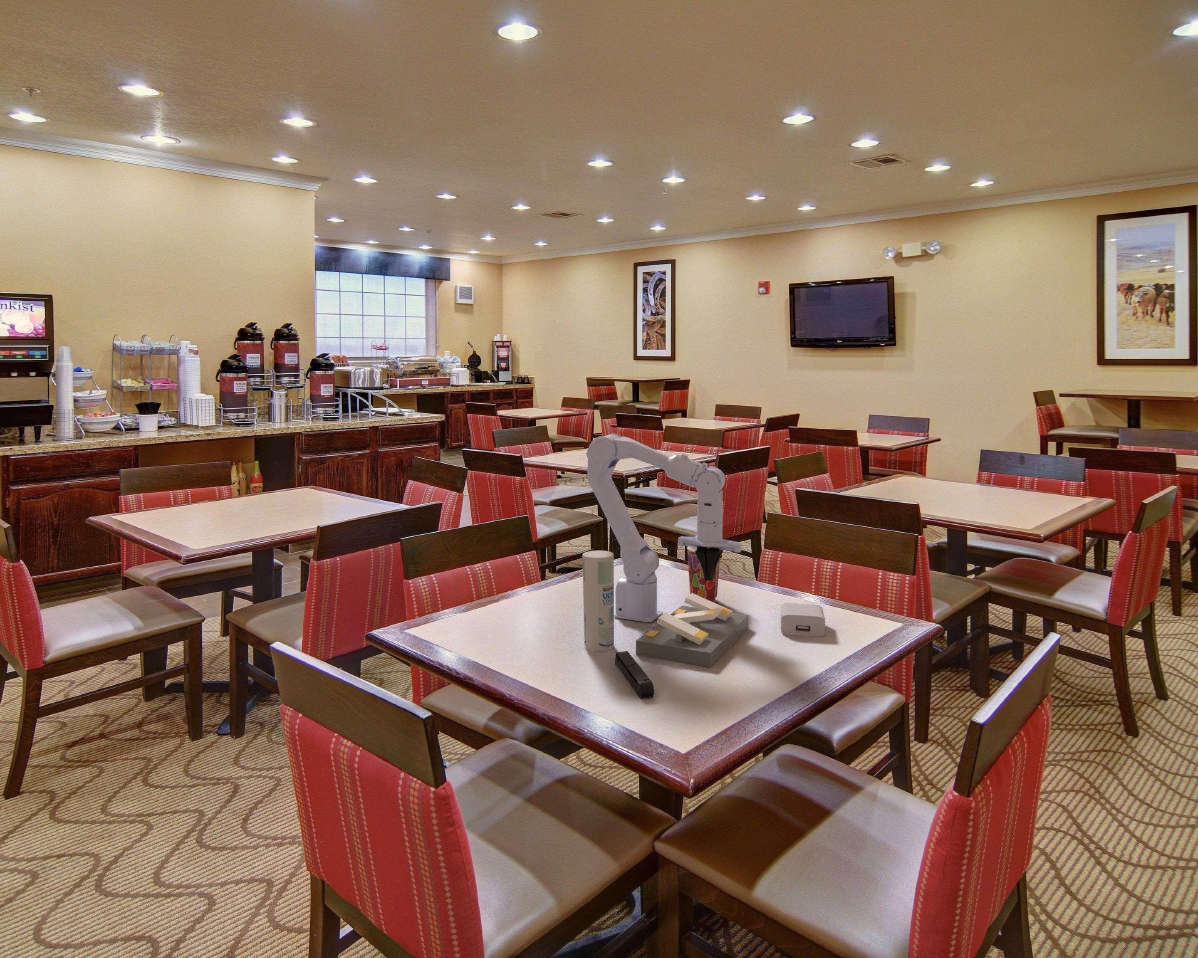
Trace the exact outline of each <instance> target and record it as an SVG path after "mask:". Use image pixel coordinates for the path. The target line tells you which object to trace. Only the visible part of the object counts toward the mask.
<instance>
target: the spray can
mask: <svg viewBox="0 0 1198 958" xmlns="http://www.w3.org/2000/svg"><path fill="white" fill-rule="evenodd" d="M614 557H615V554H614V553H613V551H612V552H611V551H608V550H590V551H585V552H584V553H582V590H583V591H582V592H583V593H582V594H583V633H584V634H583V635H584V636H583V637H584V638H583V639H584V643H583V644H584V648H585V647H586V648H587V650H588V649H589V650H588V651H591V650H593V651H592V652H605V651H606V652H607V651H609V650H612V649H613V648H614V647H615V646H614V645H615V617H614V615H615V609H614V608H615V602H614V601H615V587H614V586H615V580H614V577H615V570H614V569H615V566H614V565H615V559H614ZM586 648H585V649H586Z"/></svg>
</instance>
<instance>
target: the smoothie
mask: <svg viewBox="0 0 1198 958" xmlns="http://www.w3.org/2000/svg"><path fill="white" fill-rule="evenodd" d="M694 537H697V535H695V536H694ZM686 549H687V564H688V565H687V566H688V582H689V595H690V594H691V593H693V594H696V595H698V596H700V597H702V598H704V599H707V600H709V601H711V602H713V603H715V601H716V598H717V597H718V589H719V587H718V586H719V576H720V575H719V573H720V561H721V557H720V558H719V560H718V563H717V565H716V568H715V572H714V576H713V579H712V580H711V581H707V580H705V579H704V574H703V570H702V567H701V564H700V562H699V559H698V558H697V556H696V554H695V551H696V550H697V547H691V546H686Z"/></svg>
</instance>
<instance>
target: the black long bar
mask: <svg viewBox="0 0 1198 958" xmlns="http://www.w3.org/2000/svg"><path fill="white" fill-rule="evenodd" d="M614 665H615V666H616V667H617V669H618V670H619V671H620V673H621V674H622V675H623V677H624V679H625V680H626V681H627V682H628V684H629V685H630V687H632V689H633V691H634V692H635V694H636V695H637V696H638V697H639V699H647V698H653V697H655V686H654V682H653V681H652V680H651V678H650V677H649V676H648V675H647V673H646V672H645V671H644V670H643V668H642V667H641V666H640V664H639V663H637V661H636V660H635V659H634V657H633V656H632V655H631V653H630V652H629V651H628V650H622V651H615V652H614Z"/></svg>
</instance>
